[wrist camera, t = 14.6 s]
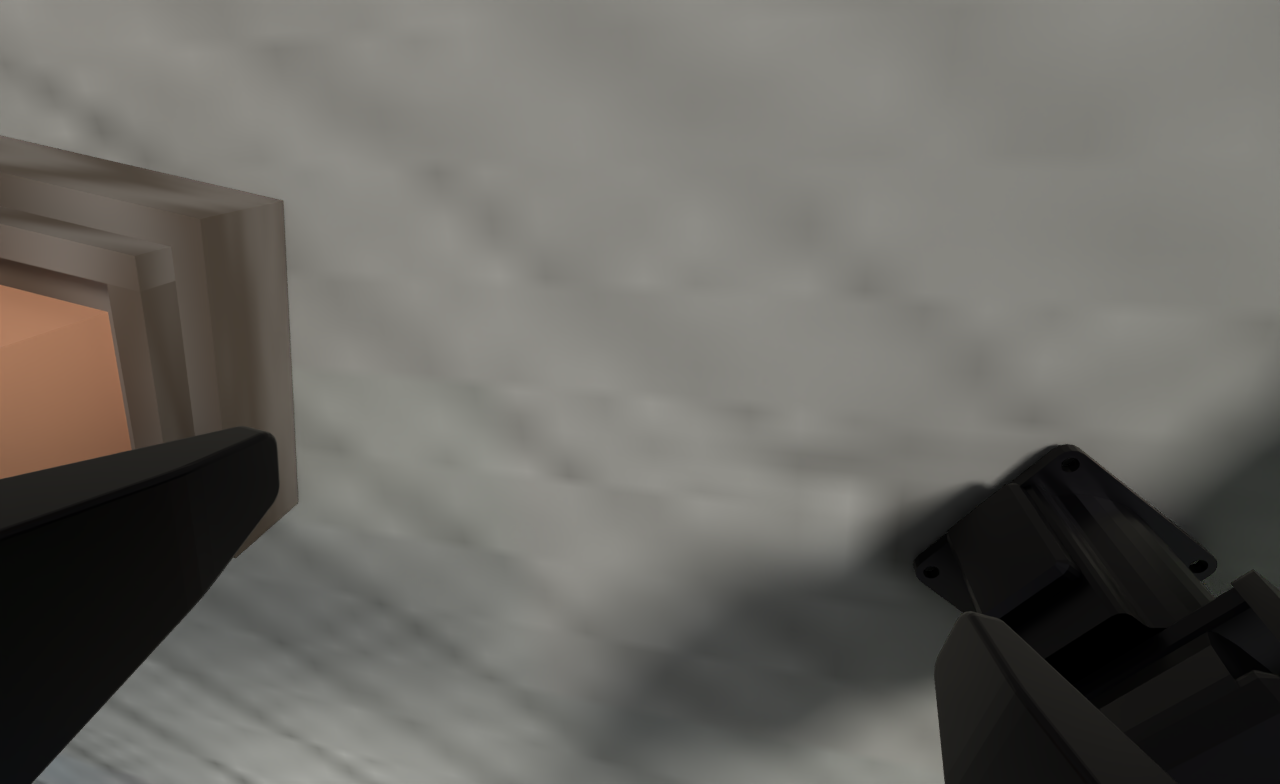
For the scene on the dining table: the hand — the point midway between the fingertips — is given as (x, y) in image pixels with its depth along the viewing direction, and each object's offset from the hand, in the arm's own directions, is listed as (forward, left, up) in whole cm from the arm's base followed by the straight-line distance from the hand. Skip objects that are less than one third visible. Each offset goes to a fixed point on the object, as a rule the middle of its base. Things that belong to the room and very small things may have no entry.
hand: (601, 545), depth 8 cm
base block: (+15, +14, -13) cm, 24 cm away
